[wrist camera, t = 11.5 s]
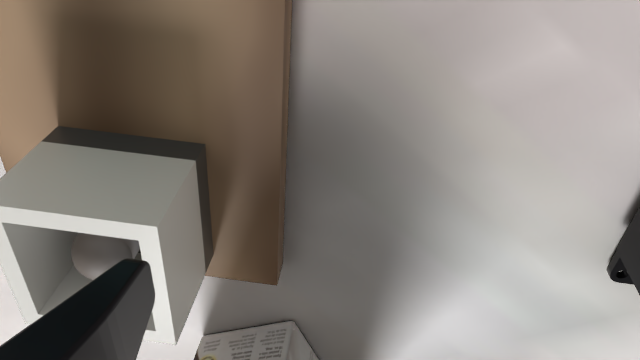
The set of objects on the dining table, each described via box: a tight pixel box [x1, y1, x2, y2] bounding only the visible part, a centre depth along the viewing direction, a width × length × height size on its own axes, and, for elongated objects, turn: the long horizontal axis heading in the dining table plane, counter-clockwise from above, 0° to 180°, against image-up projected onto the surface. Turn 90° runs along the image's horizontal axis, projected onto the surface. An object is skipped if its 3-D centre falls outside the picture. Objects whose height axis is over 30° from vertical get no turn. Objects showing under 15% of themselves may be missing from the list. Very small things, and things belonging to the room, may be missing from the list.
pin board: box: [0, 0, 292, 285], centre depth 17 cm, size 12×22×6 cm, turn 176°
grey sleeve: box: [0, 126, 214, 345], centre depth 20 cm, size 6×6×5 cm
